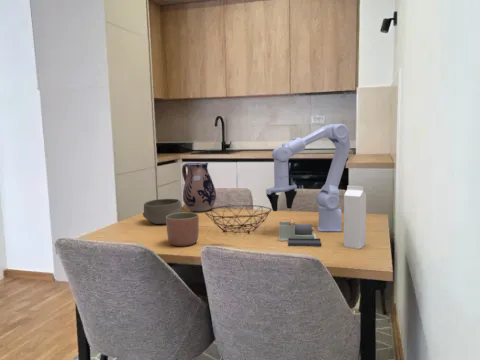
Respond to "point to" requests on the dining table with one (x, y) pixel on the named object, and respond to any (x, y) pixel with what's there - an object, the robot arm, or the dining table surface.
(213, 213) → the dining table surface
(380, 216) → the dining table surface
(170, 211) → the bowl
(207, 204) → the ceramic pitcher
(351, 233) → the milk
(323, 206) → the robot arm
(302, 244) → the dark grey roller cradle
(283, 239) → the white roller cradle
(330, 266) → the dining table surface
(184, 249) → the dining table surface
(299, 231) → the grey roller spool
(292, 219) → the long tan wooden plank
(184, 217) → the planter
